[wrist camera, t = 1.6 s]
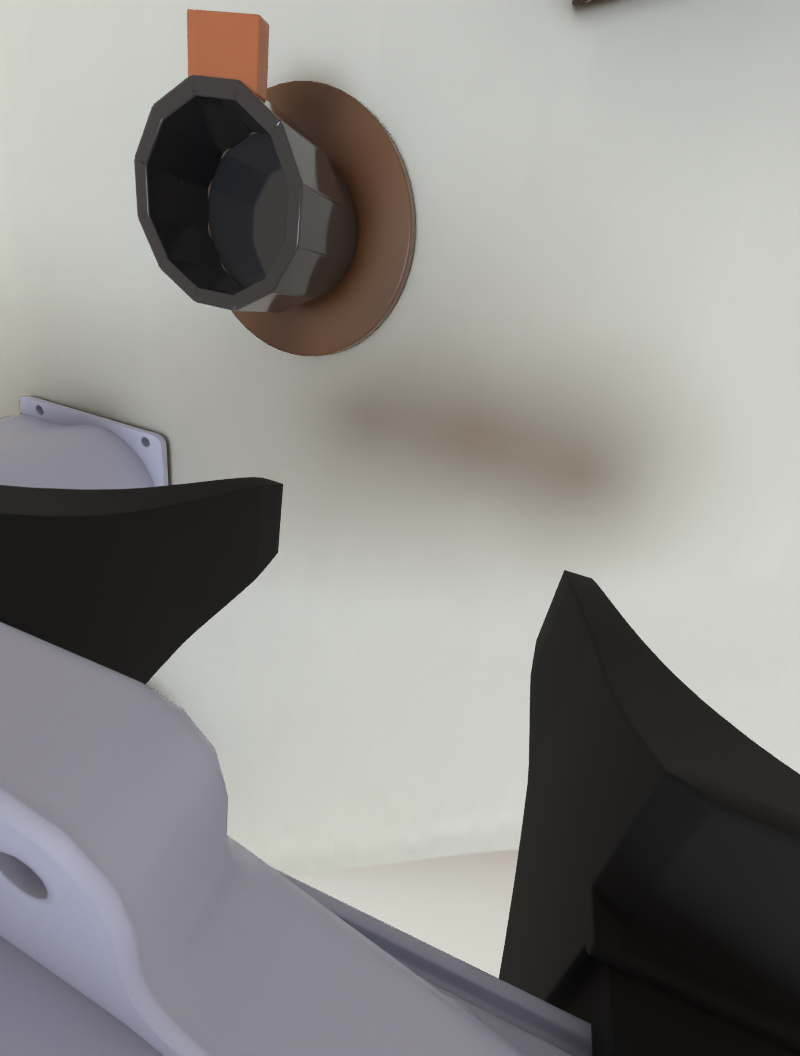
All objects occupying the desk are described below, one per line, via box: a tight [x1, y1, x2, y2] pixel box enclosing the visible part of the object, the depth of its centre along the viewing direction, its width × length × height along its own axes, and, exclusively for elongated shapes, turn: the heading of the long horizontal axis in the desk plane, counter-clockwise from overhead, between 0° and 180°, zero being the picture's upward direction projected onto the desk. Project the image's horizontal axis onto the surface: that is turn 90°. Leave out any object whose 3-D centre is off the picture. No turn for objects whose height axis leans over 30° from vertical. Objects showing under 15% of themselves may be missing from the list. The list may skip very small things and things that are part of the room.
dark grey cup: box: [134, 9, 357, 313], centre depth 16 cm, size 6×7×5 cm
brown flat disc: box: [208, 81, 415, 356], centre depth 18 cm, size 9×9×1 cm
